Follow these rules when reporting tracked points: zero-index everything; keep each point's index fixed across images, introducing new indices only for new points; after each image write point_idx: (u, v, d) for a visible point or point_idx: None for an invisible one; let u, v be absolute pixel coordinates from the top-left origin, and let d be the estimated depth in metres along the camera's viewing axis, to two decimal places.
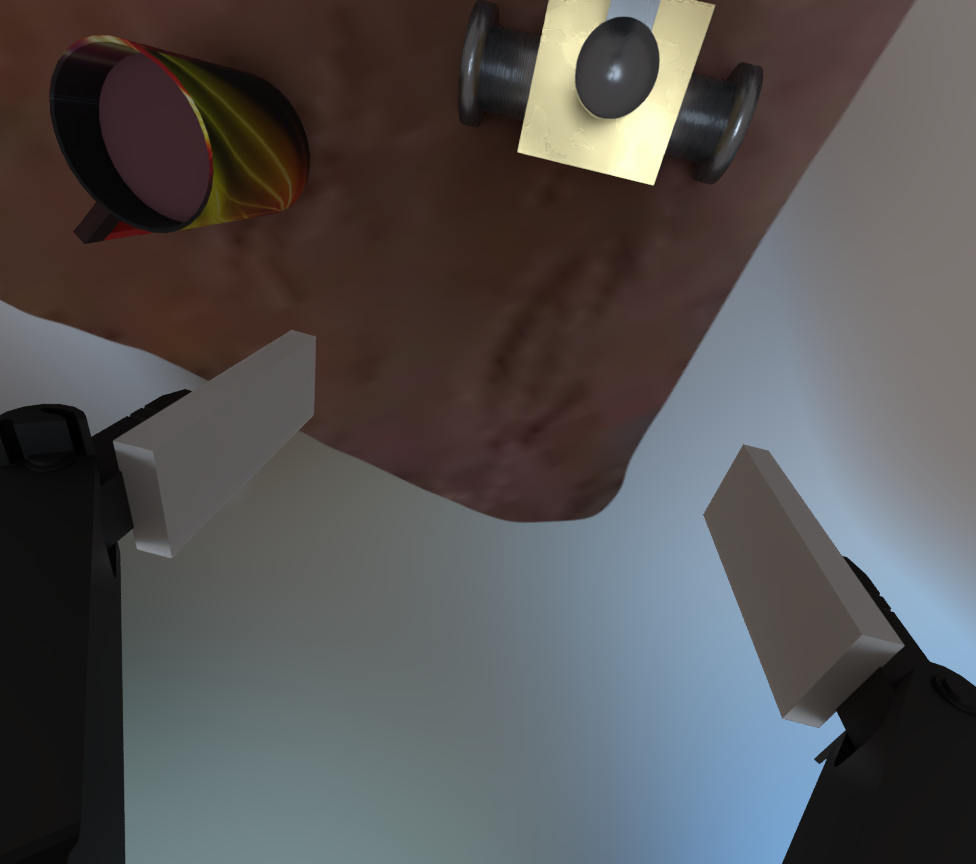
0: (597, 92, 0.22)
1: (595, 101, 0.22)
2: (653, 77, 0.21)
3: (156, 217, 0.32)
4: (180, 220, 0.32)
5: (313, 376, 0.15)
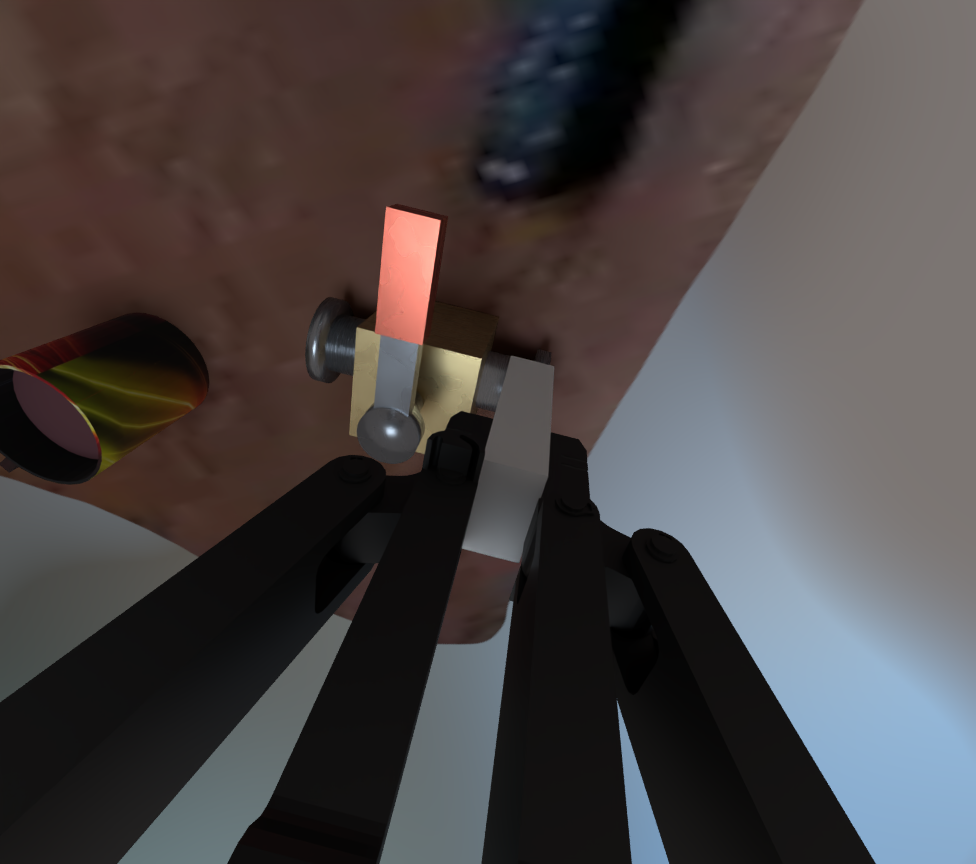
0: (376, 448, 0.28)
1: (375, 453, 0.28)
2: (415, 443, 0.28)
3: (66, 459, 0.38)
4: (87, 457, 0.39)
5: None
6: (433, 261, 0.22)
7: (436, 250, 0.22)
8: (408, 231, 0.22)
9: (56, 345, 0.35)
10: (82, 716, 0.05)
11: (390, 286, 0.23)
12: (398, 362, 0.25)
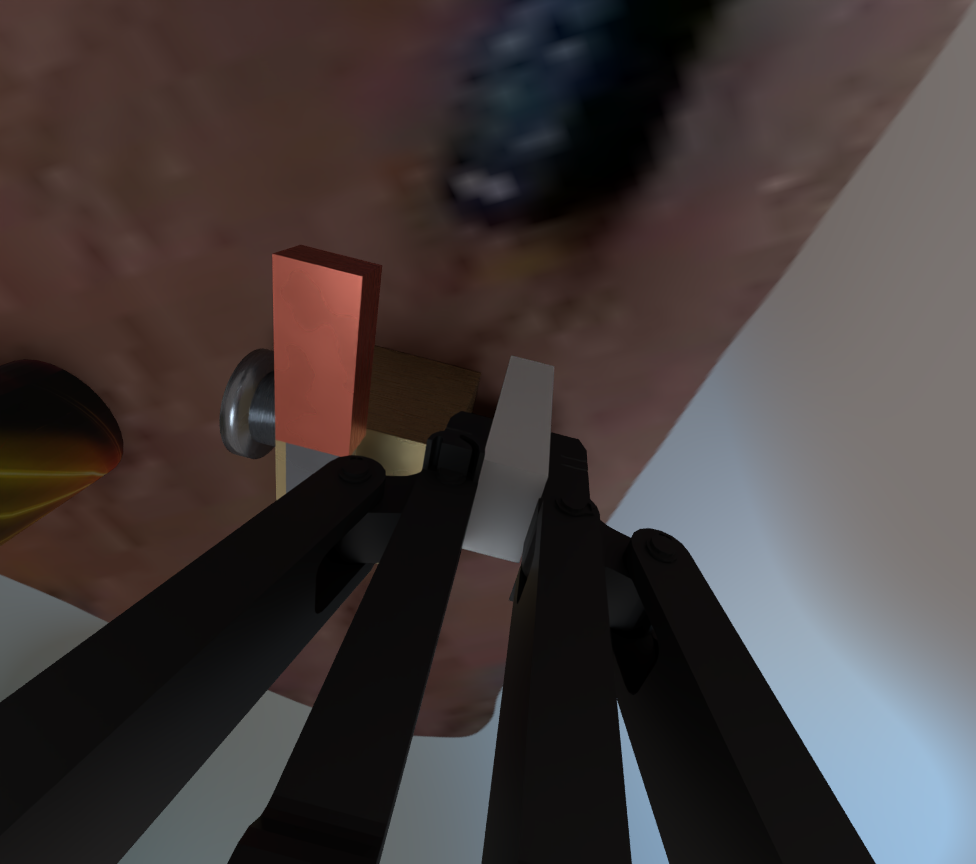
0: None
1: None
2: None
3: None
4: None
5: None
6: (356, 339, 0.14)
7: (360, 322, 0.14)
8: (312, 292, 0.13)
9: None
10: (82, 716, 0.05)
11: (292, 374, 0.15)
12: None
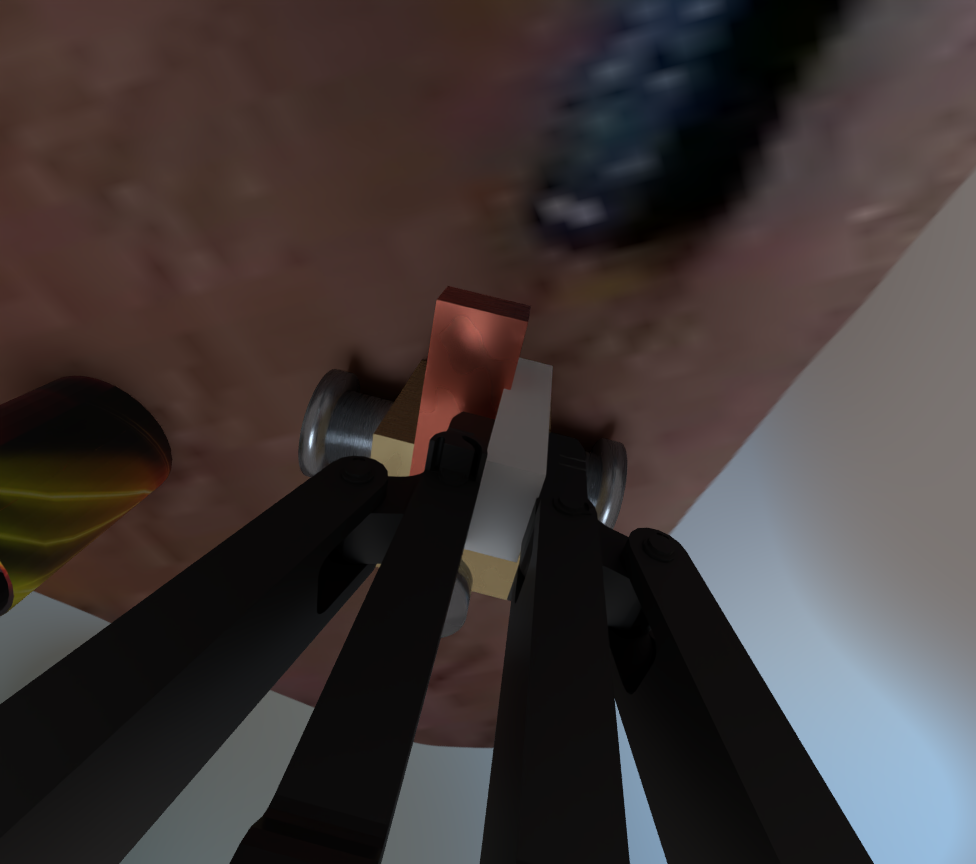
0: None
1: None
2: (462, 617, 0.19)
3: None
4: None
5: None
6: (510, 382, 0.14)
7: (516, 365, 0.14)
8: (472, 337, 0.13)
9: None
10: (85, 716, 0.05)
11: (437, 416, 0.15)
12: None
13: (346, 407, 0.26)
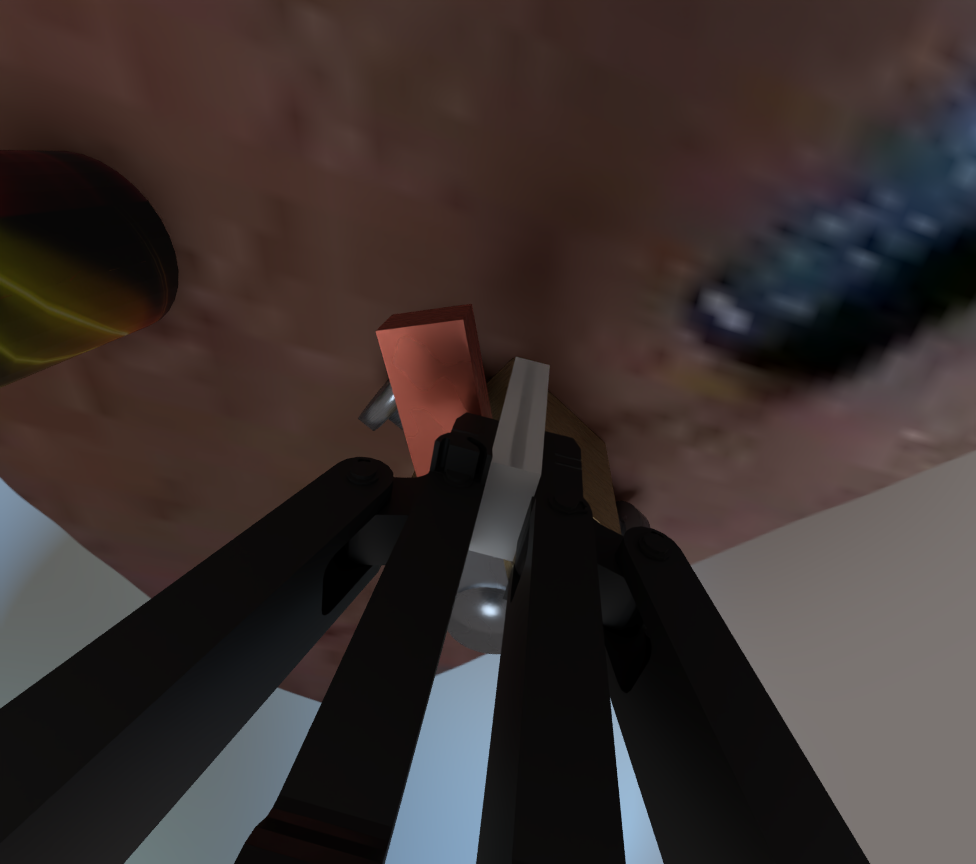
0: (479, 640, 0.19)
1: (481, 646, 0.20)
2: None
3: None
4: None
5: None
6: (473, 381, 0.14)
7: (472, 363, 0.14)
8: (420, 353, 0.14)
9: None
10: (90, 717, 0.05)
11: (423, 436, 0.15)
12: None
13: None
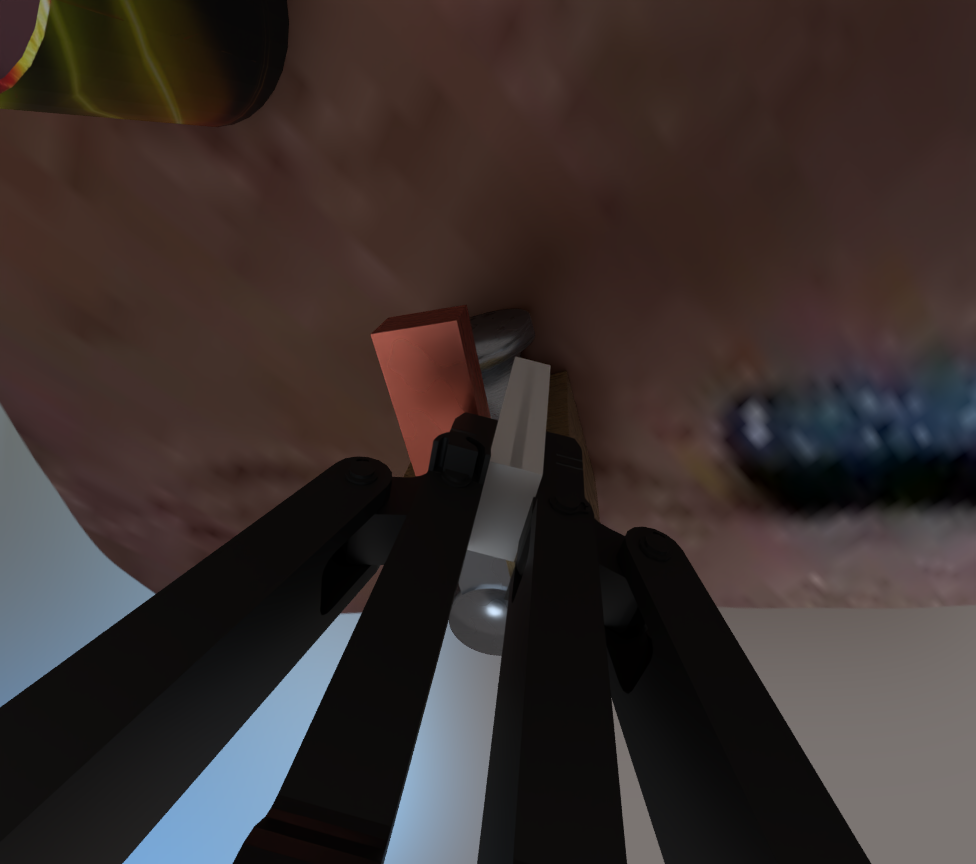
0: (485, 642, 0.19)
1: (487, 647, 0.20)
2: None
3: None
4: None
5: None
6: (469, 382, 0.14)
7: (467, 364, 0.14)
8: (416, 355, 0.14)
9: None
10: (88, 716, 0.05)
11: (421, 438, 0.15)
12: None
13: (513, 358, 0.24)
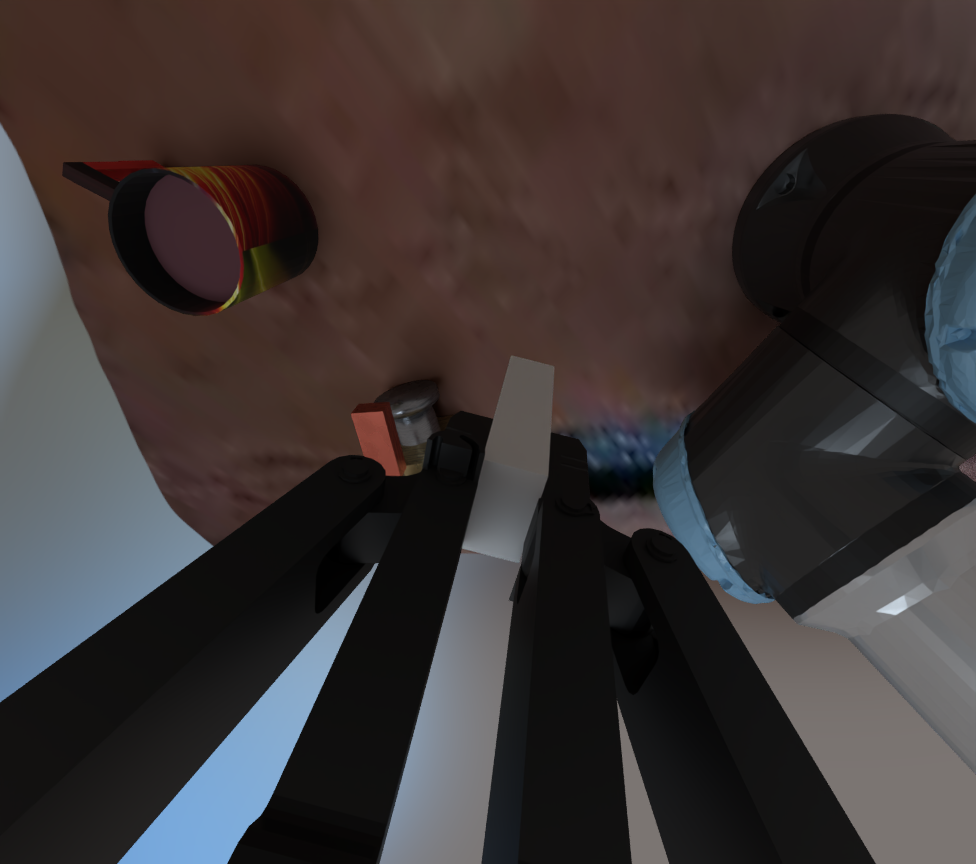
0: None
1: None
2: None
3: (142, 244, 0.36)
4: (157, 257, 0.37)
5: None
6: (388, 432, 0.36)
7: (387, 426, 0.36)
8: (367, 422, 0.36)
9: (258, 211, 0.35)
10: (82, 716, 0.05)
11: (369, 452, 0.37)
12: None
13: (426, 409, 0.46)
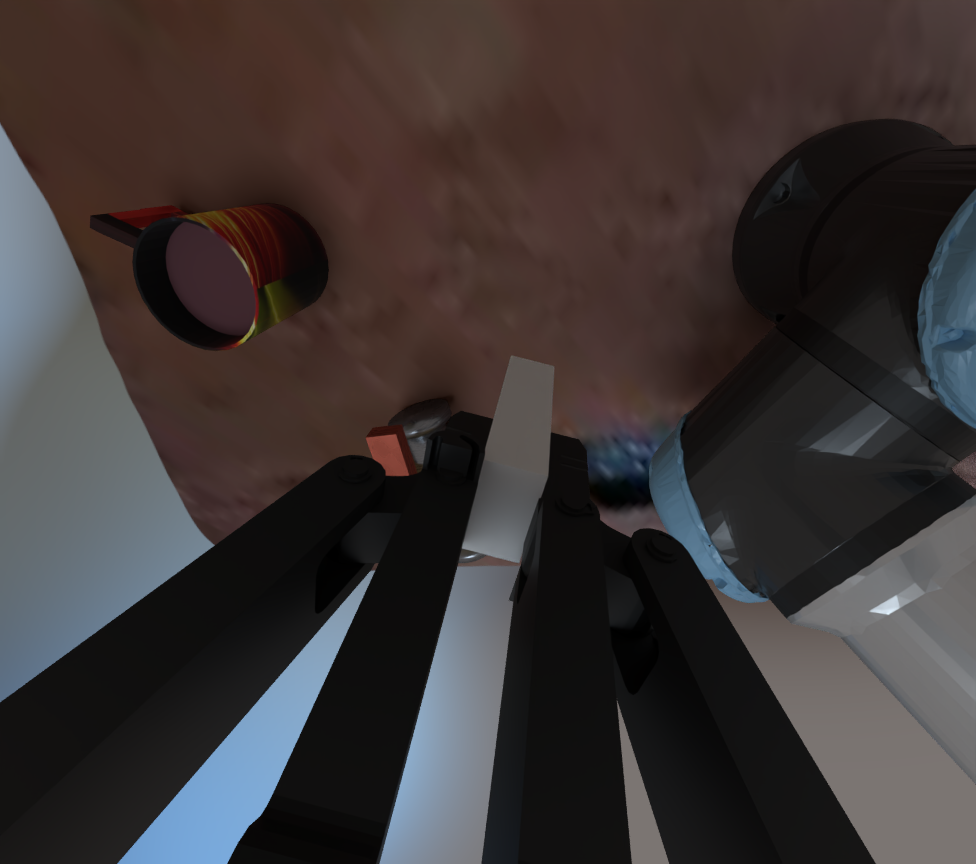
0: None
1: None
2: None
3: (164, 286, 0.38)
4: (179, 297, 0.39)
5: None
6: (401, 454, 0.38)
7: (401, 448, 0.38)
8: (382, 444, 0.37)
9: (270, 249, 0.37)
10: (82, 716, 0.05)
11: None
12: None
13: (439, 428, 0.48)
